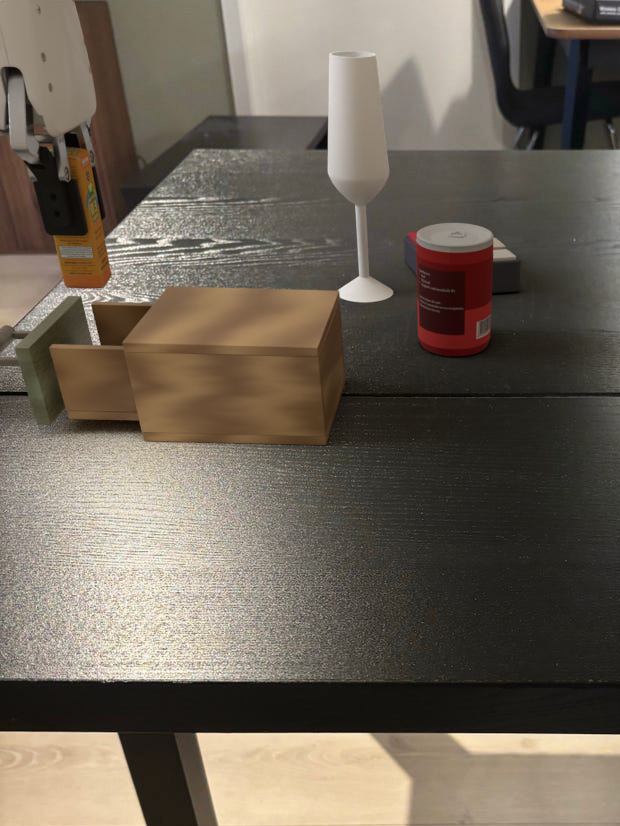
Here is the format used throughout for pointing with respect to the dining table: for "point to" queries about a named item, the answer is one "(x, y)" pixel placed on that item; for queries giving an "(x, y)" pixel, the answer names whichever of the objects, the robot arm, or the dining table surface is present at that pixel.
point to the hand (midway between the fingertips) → (76, 224)
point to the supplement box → (87, 253)
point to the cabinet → (238, 365)
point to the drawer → (77, 361)
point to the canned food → (454, 288)
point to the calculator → (503, 264)
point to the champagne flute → (357, 153)
